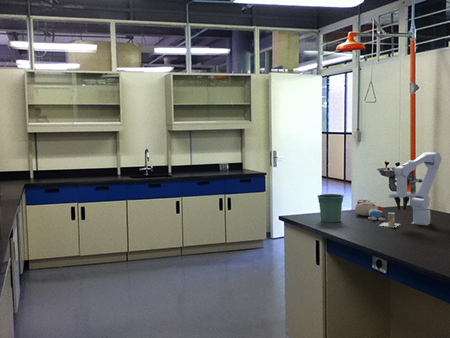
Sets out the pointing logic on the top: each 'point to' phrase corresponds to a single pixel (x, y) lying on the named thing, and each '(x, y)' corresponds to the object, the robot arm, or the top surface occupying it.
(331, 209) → the flower pot
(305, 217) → the top surface
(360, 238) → the top surface
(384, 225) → the mat
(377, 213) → the toy
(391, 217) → the teal block wooden top
